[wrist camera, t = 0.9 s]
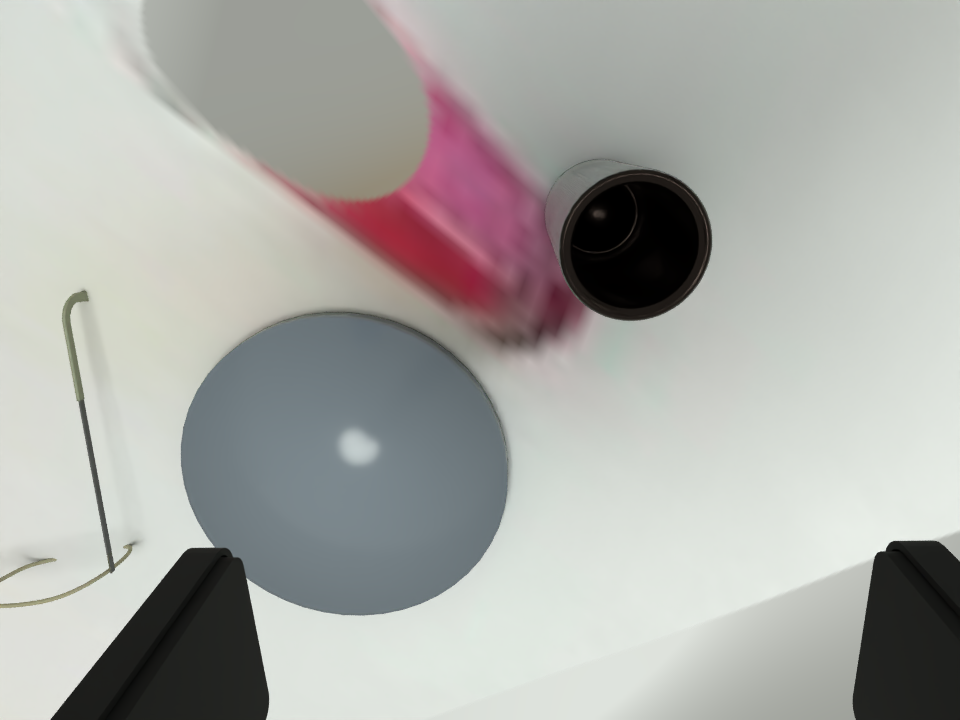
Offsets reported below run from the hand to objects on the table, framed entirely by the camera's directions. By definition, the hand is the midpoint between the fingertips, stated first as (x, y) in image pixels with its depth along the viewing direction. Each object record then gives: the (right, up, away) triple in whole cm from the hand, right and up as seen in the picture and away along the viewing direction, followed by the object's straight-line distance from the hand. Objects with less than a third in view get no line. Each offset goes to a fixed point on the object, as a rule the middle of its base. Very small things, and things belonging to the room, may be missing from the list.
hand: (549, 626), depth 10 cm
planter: (+4, +11, +20) cm, 23 cm away
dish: (-8, -1, +24) cm, 25 cm away
